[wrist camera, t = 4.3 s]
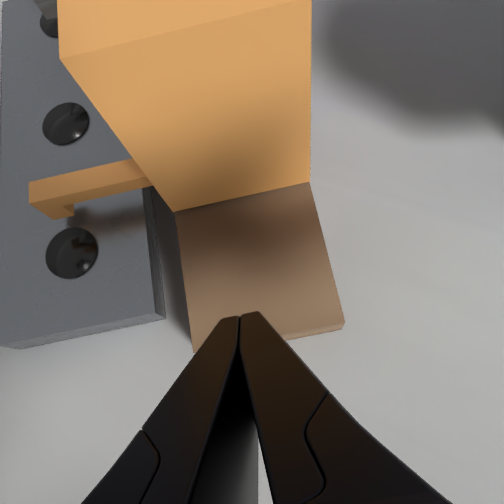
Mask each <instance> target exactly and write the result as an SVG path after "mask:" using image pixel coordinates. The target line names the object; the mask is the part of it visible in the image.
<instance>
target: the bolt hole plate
mask: <svg viewBox="0 0 504 504" xmlns="http://www.w3.org/2000/svg"><path fill="white" fill-rule="evenodd" d="M131 158H132V156H131V155H130V154H129V152H128V151H127V150H126V148H125V147H124V145H123V144H122V143H121V141H120V140H119V139H118V137H117V136H116V135H115V133H114V132H113V131H112V129H111V128H110V127H109V125H108V124H107V122H106V121H105V120H104V118H103V117H102V116H101V114H100V113H99V112H98V110H97V109H96V108H95V106H94V105H93V104H92V102H91V101H90V100H89V98H88V97H87V95H86V94H85V93H84V91H83V90H82V89H81V87H80V86H79V85H78V83H77V82H76V81H75V79H74V78H73V77H72V75H71V74H70V72H69V71H68V70H67V68H66V67H65V66H64V64H63V63H62V62H61V60H60V59H59V37H58V17H56V18H52V19H48V20H47V19H46V18H45V16H44V15H43V13H42V12H41V11H40V9H39V8H38V6H37V5H36V3H35V2H34V1H33V0H8V1H4V2H3V7H2V80H1V152H0V346H2V347H9V348H15V349H23V348H28V347H33V346H38V345H43V344H48V343H52V342H57V341H62V340H67V339H72V338H76V337H81V336H86V335H91V334H96V333H100V332H105V331H110V330H115V329H120V328H124V327H129V326H134V325H139V324H144V323H148V322H153V321H158V320H163V319H166V312H165V304H164V295H163V287H162V278H161V270H160V261H159V252H158V244H157V235H156V227H155V218H154V210H153V201H152V193H151V186H149V187H145V188H141V189H136V190H132V191H127V192H123V193H119V194H114V195H110V196H105V197H101V198H96V199H92V200H88V201H83V202H79V203H74V216H69V217H65V218H61V219H56V220H52V219H51V218H49V217H48V216H46V215H45V214H44V213H42V212H41V211H39V210H38V209H36V208H35V207H33V206H32V205H30V204H29V182H31V181H36V180H40V179H44V178H49V177H53V176H57V175H62V174H66V173H70V172H75V171H79V170H83V169H88V168H92V167H96V166H101V165H105V164H109V163H114V162H118V161H122V160H127V159H131Z"/></svg>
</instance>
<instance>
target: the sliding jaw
mask: <svg viewBox="0 0 504 504" xmlns="http://www.w3.org/2000/svg"><path fill="white" fill-rule="evenodd" d="M57 13H58V37H59V59H60V60H61V62H62V63H63V64H64V66H65V67H66V68H67V70H68V71H69V72H70V74H71V75H72V77H73V78H74V79H75V81H76V82H77V83H78V85H79V86H80V87H81V89H82V90H83V91H84V93H85V94H86V95H87V97H88V98H89V100H90V101H91V102H92V104H93V105H94V106H95V108H96V109H97V110H98V112H99V113H100V114H101V116H102V117H103V118H104V120H105V121H106V122H107V124H108V125H109V127H110V128H111V129H112V131H113V132H114V133H115V135H116V136H117V137H118V139H119V140H120V141H121V143H122V144H123V145H124V147H125V148H126V150H127V151H128V152H129V154H130V155H131V156H132V158H131V159H127V160H122V161H118V162H114V163H109V164H105V165H101V166H96V167H92V168H88V169H83V170H79V171H75V172H70V173H66V174H62V175H57V176H53V177H49V178H44V179H40V180H36V181H31V182H29V204H30V205H32V206H33V207H35V208H36V209H38V210H39V211H41V212H42V213H44V214H45V215H46V216H48V217H49V218H51V219H52V220H56V219H61V218H65V217H69V216H74V203H79V202H83V201H88V200H92V199H96V198H101V197H105V196H110V195H114V194H119V193H123V192H127V191H132V190H136V189H141V188H145V187H149V186H154V187H155V189H156V190H157V191H158V193H159V194H160V195H161V197H162V198H163V200H164V201H165V202H166V204H167V205H168V206H169V208H170V209H171V210H172V212H175V211H180V210H184V209H189V208H193V207H198V206H202V205H207V204H211V203H216V202H220V201H225V200H229V199H234V198H238V197H243V196H247V195H252V194H256V193H261V192H265V191H270V190H274V189H279V188H283V187H288V186H292V185H297V184H301V183H306V182H310V124H311V18H312V0H57Z"/></svg>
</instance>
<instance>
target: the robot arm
mask: <svg viewBox="0 0 504 504" xmlns="http://www.w3.org/2000/svg"><path fill="white" fill-rule="evenodd" d="M258 438H259V442H260V447H261V451H262V456H263V460H264V464H265V469H266V473H267V478H268V482H269V487H270V491H271V496H272V500H273V504H453V503H451V502H450V501H449V500H447V499H446V498H445V497H444V496H442V495H441V494H440V493H439V492H437V491H436V490H435V489H434V488H433V487H432V486H430V485H429V484H428V483H427V482H426V481H424V480H423V479H422V478H421V477H420V476H419V475H417V474H416V473H415V472H414V471H413V470H412V469H410V468H409V467H408V466H407V465H406V464H405V463H403V462H402V461H401V460H400V459H399V458H398V457H396V456H395V455H394V454H393V453H392V452H391V451H389V450H388V449H387V448H386V447H385V446H384V445H382V444H381V443H380V442H379V441H378V440H377V439H376V438H374V437H373V436H372V435H371V434H370V433H369V432H368V431H367V430H366V429H365V428H364V427H362V426H361V425H360V424H359V423H358V422H357V421H356V420H355V419H354V418H353V417H352V416H351V414H350V413H349V412H348V411H347V410H346V409H345V408H344V407H343V406H342V405H341V404H340V403H339V401H338V400H337V399H336V398H335V397H334V396H333V395H332V394H330V392H329V390H328V389H327V388H326V387H325V386H324V385H323V384H322V382H321V381H320V380H319V379H318V378H317V377H316V376H315V374H314V373H313V372H312V371H311V370H310V369H309V367H308V366H307V365H306V364H305V363H304V362H303V361H302V359H301V358H300V357H299V356H298V355H297V354H296V353H295V351H294V350H293V349H292V348H291V347H290V346H289V345H288V343H287V342H286V341H285V340H284V339H283V338H282V337H281V335H280V334H279V333H278V332H277V331H276V330H275V329H274V327H273V326H272V325H271V324H270V323H269V322H268V321H267V319H266V318H265V317H264V316H263V315H262V314H261V313H260V312H259V311H255V312H250V313H245V314H242V315H241V317H240V316H238V315H236V316H231V317H226V318H222V319H221V320H220V321H219V322H218V323H217V325H216V326H215V327H214V329H213V330H212V332H211V333H210V334H209V336H208V337H207V338H206V340H205V341H204V343H203V344H202V345H201V347H200V348H199V349H198V351H197V352H196V354H195V355H194V356H193V358H192V359H191V360H190V362H189V363H188V365H187V366H186V367H185V369H184V370H183V371H182V373H181V374H180V375H179V377H178V378H177V380H176V381H175V382H174V384H173V385H172V386H171V388H170V389H169V391H168V392H167V393H166V395H165V396H164V397H163V399H162V400H161V402H160V403H159V404H158V406H157V407H156V408H155V410H154V411H153V413H152V414H151V415H150V417H149V418H148V419H147V421H146V422H145V424H144V425H143V426H142V430H140V431H139V432H138V433H137V434H136V436H135V437H134V438H133V440H132V441H131V443H130V444H129V445H128V447H127V448H126V449H125V451H124V452H123V453H122V454H121V456H120V457H119V458H118V460H117V461H116V462H115V464H114V465H113V466H112V467H111V469H110V470H109V471H108V472H107V474H106V475H105V476H104V477H103V478H102V480H101V481H100V482H99V483H98V484H97V485H96V487H95V488H94V489H93V490H92V491H91V493H90V494H89V495H88V496H87V497H86V498H85V500H84V501H83V502H82V503H81V504H258Z"/></svg>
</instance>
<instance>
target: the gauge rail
mask: <svg viewBox="0 0 504 504" xmlns="http://www.w3.org/2000/svg"><path fill="white" fill-rule="evenodd" d="M33 1H34V2H35V3H36V5H37V6H38V8H39V9H40V11H41V12H42V13H43V15H44V16H45V18H46V19H47V20H48V19H52V18H56V17H58V13H57V0H33ZM174 213H175V220H176V228H177V235H178V242H179V250H180V257H181V265H182V272H183V280H184V287H185V294H186V302H187V309H188V317H189V324H190V332H191V339H192V346H193V353H196V352H197V351H198V349H199V348H200V347H201V345H202V344H203V343H204V341H205V340H206V338H207V337H208V336H209V334H210V333H211V332H212V330H213V329H214V327H215V326H216V325H217V323H218V322H219V321H220V320H221V319H222V318H226V317H231V316H236V315H238V316H240V317H241V315H242V314H245V313H250V312H255V311H259V312H260V313H261V314H262V315H263V316H264V317H265V318H266V319H267V321H268V322H269V323H270V324H271V325H272V326H273V327H274V329H275V330H276V331H277V332H278V333H279V334H280V335H281V337H282V338H283V339H284V340H285V341H286V340H291V339H296V338H301V337H306V336H311V335H316V334H321V333H326V332H331V331H336V330H340V329H342V327H343V325H344V323H345V320H344V316H343V312H342V308H341V304H340V300H339V297H338V293H337V289H336V285H335V281H334V277H333V273H332V269H331V265H330V261H329V257H328V253H327V250H326V246H325V242H324V238H323V234H322V230H321V226H320V222H319V218H318V214H317V210H316V207H315V203H314V199H313V195H312V191H311V187H310V183H309V182H306V183H301V184H297V185H292V186H288V187H283V188H279V189H274V190H270V191H265V192H261V193H256V194H252V195H247V196H243V197H238V198H234V199H229V200H225V201H220V202H216V203H211V204H207V205H202V206H198V207H193V208H189V209H184V210H180V211H175V212H174Z"/></svg>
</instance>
